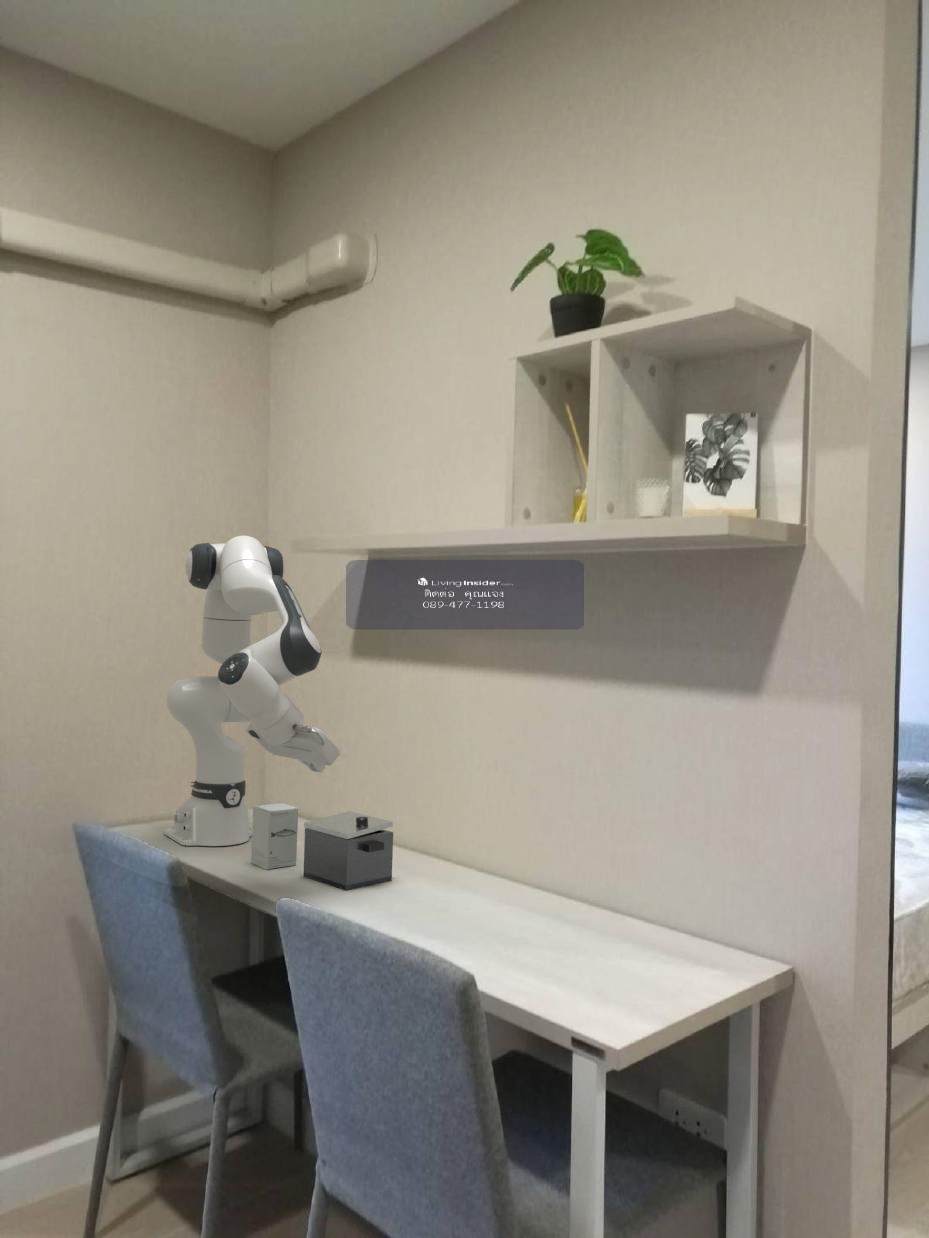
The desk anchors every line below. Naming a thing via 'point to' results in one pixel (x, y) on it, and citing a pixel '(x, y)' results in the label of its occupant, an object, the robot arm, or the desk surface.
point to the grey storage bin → (348, 859)
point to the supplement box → (274, 835)
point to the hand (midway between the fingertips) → (319, 769)
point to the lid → (348, 824)
